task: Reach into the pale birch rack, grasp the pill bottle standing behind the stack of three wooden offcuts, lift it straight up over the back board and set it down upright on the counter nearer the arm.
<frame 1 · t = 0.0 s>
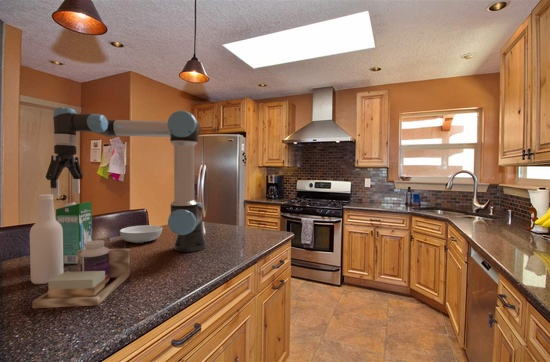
hand: (66, 194, 115), 28 cm above the worktop, fingers open, 13 cm apart
alcohol: (47, 280, 95), on the worktop
offcut top: (78, 283, 82), point 4 cm above the worktop, touching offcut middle
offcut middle: (78, 291, 82), point 2 cm above the worktop, touching offcut top
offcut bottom: (78, 299, 82), on the worktop
milk carton: (75, 260, 115), on the worktop
pill bottle: (95, 284, 91), on the worktop
rack: (87, 289, 87), on the worktop
serving bowl: (141, 241, 148), on the worktop
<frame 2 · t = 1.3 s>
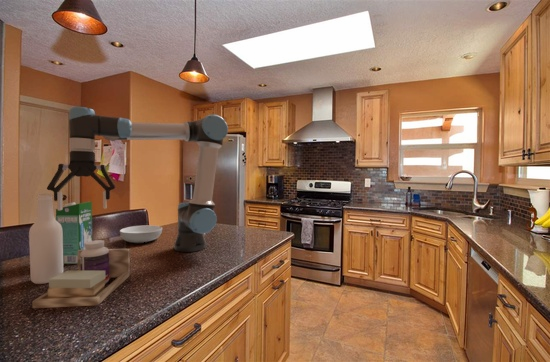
hand: (83, 209, 98), 24 cm above the worktop, fingers open, 13 cm apart
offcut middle: (78, 291, 82), point 2 cm above the worktop, touching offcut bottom, offcut top
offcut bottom: (78, 299, 82), on the worktop, touching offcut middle
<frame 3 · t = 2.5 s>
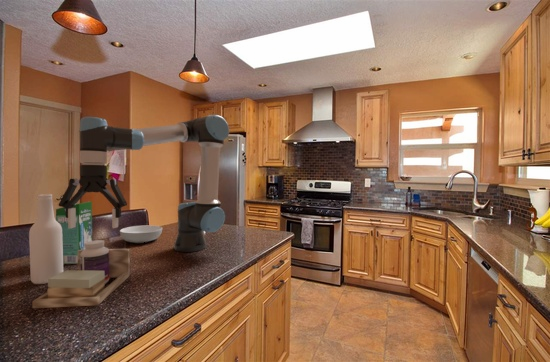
hand: (93, 227, 90), 19 cm above the worktop, fingers open, 13 cm apart
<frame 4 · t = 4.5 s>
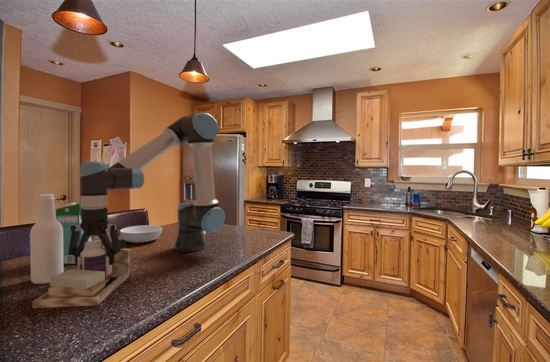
hand: (95, 274, 91), 3 cm above the worktop, fingers closed on pill bottle, 8 cm apart
pill bottle: (95, 284, 91), on the worktop, touching gripper
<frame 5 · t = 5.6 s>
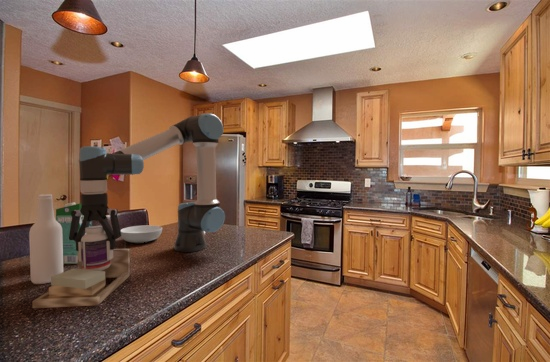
hand: (96, 259, 91), 8 cm above the worktop, fingers closed on pill bottle, 8 cm apart
pill bottle: (96, 269, 92), point 5 cm above the worktop, touching gripper
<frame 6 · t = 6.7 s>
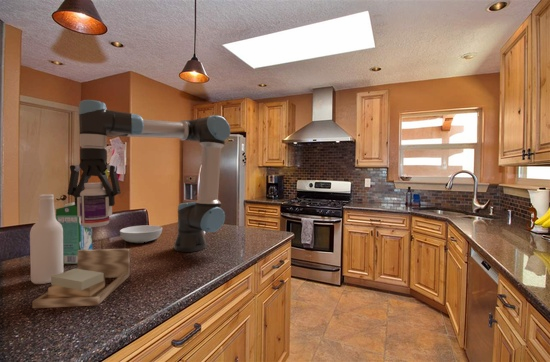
hand: (95, 215, 91), 23 cm above the worktop, fingers closed on pill bottle, 8 cm apart
pill bottle: (95, 226, 91), point 20 cm above the worktop, touching gripper
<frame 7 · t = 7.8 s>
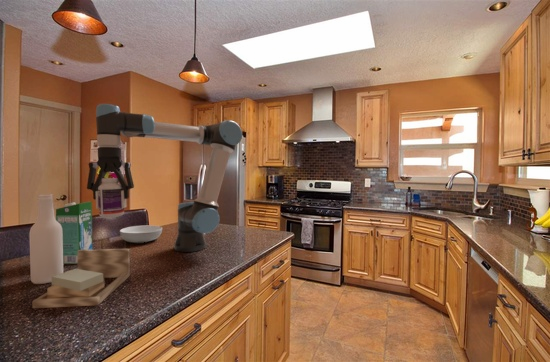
hand: (111, 207, 101), 25 cm above the worktop, fingers closed on pill bottle, 8 cm apart
pill bottle: (112, 217, 101), point 21 cm above the worktop, touching gripper
when the fingers open (5 cm above the worktop, at t = 12.8 s): pill bottle drops 1 cm, on the worktop.
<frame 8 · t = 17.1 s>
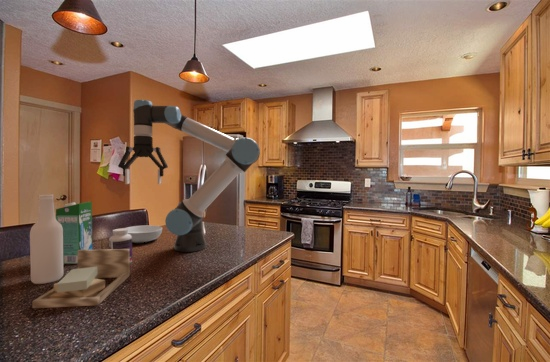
hand: (143, 183, 120), 33 cm above the worktop, fingers open, 13 cm apart
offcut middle: (80, 290, 83), point 2 cm above the worktop, touching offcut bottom, offcut top
pill bottle: (121, 264, 111), on the worktop
at the end: pill bottle inside the target area (0.1 cm from its centre), on the worktop; pill bottle tilted 0°; offcut top moved 0.9 cm from its start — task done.
